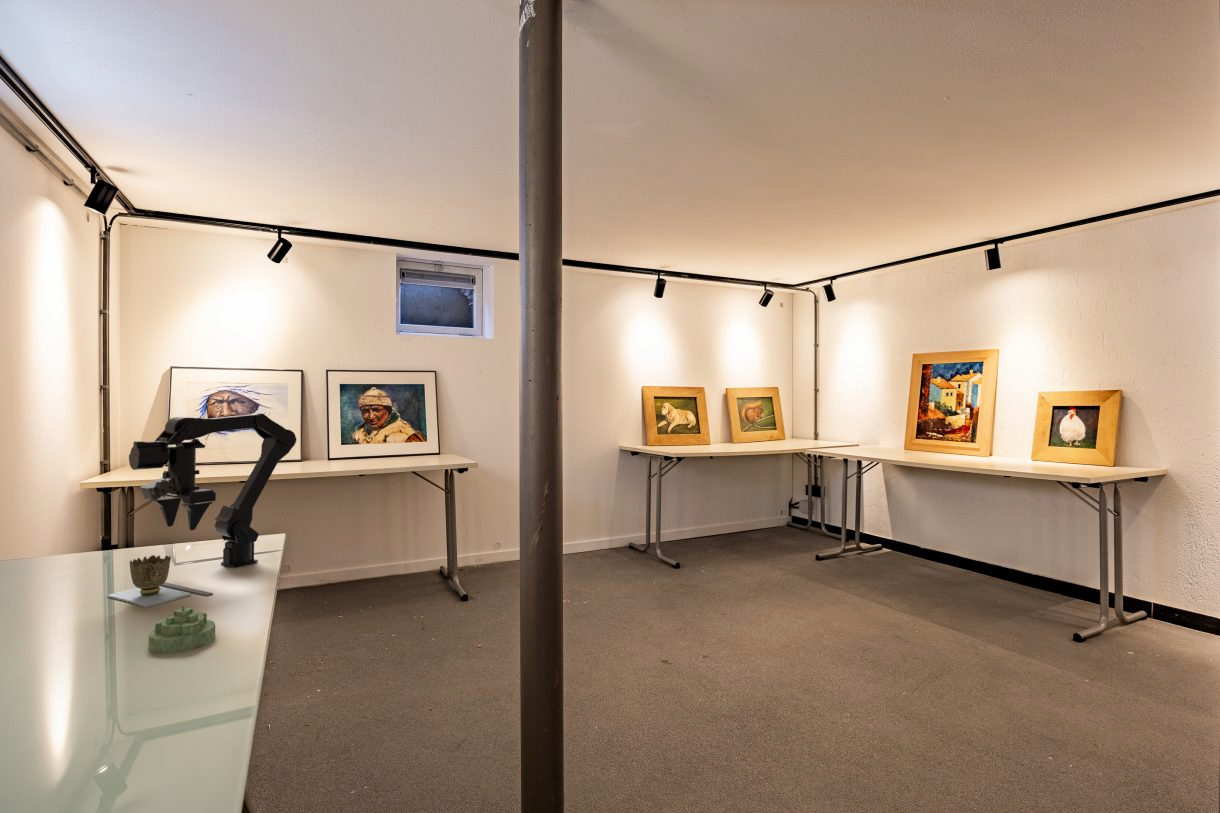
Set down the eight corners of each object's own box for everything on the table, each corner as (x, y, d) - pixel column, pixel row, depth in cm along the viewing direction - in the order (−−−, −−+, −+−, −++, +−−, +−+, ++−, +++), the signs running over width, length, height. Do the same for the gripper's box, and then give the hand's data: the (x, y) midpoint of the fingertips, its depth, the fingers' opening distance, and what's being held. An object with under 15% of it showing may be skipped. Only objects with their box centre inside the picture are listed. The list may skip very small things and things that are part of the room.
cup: (178, 589, 140) (178, 555, 139) (150, 600, 132) (151, 563, 132) (149, 588, 140) (149, 554, 140) (120, 598, 133) (120, 562, 133)
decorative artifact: (166, 634, 115) (136, 656, 105) (167, 597, 115) (136, 615, 105) (224, 631, 117) (200, 652, 107) (224, 595, 117) (200, 612, 107)
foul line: (155, 581, 147) (155, 580, 147) (212, 594, 138) (212, 593, 138) (148, 583, 146) (148, 581, 146) (206, 596, 137) (206, 594, 137)
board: (151, 586, 144) (151, 584, 144) (190, 595, 137) (190, 593, 137) (107, 597, 135) (107, 594, 135) (147, 607, 129) (147, 605, 129)
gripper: (124, 467, 149) (123, 530, 149) (170, 471, 141) (169, 538, 141) (172, 463, 159) (171, 522, 159) (217, 467, 152) (216, 529, 152)
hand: (181, 528), depth 153 cm, fingers open, 9 cm apart
